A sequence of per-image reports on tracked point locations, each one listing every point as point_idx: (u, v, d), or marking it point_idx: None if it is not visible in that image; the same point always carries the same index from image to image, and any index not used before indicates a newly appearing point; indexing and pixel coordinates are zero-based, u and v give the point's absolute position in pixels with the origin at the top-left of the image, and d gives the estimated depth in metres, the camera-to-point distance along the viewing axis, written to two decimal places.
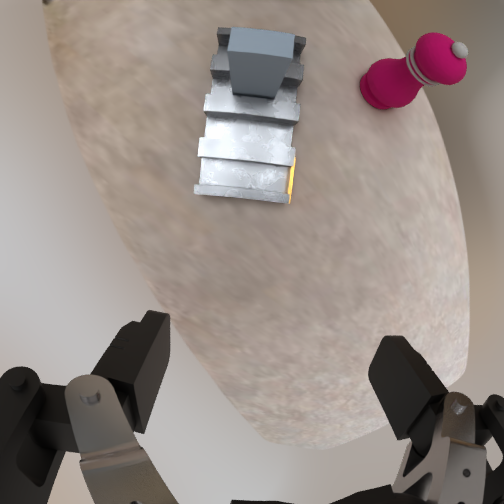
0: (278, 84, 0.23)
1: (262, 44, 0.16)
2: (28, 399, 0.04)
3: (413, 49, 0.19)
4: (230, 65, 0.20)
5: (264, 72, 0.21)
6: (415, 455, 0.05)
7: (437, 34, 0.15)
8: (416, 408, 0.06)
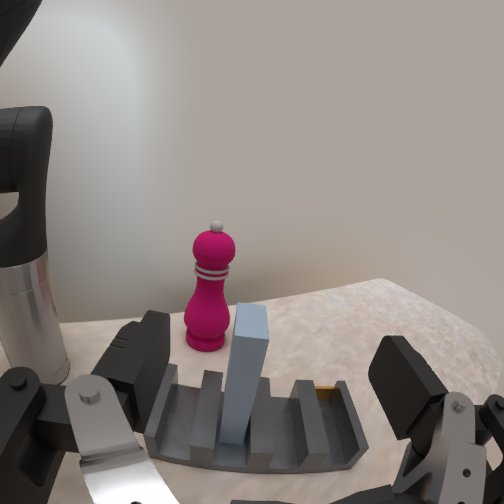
0: None
1: (255, 319, 0.21)
2: (28, 399, 0.04)
3: (202, 269, 0.37)
4: (261, 369, 0.20)
5: None
6: (415, 455, 0.05)
7: (201, 238, 0.36)
8: (416, 408, 0.06)
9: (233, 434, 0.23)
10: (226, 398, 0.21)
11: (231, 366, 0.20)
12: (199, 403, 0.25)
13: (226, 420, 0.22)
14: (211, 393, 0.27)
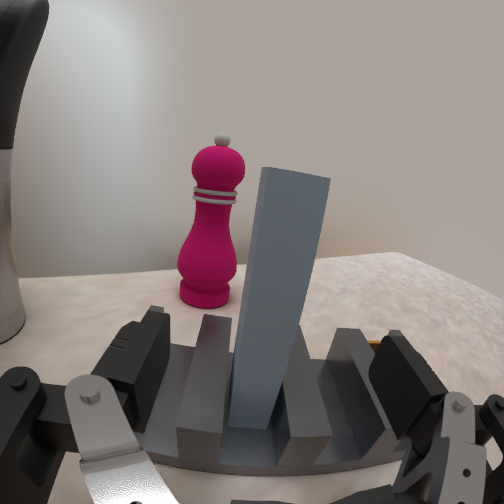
0: None
1: None
2: (28, 399, 0.04)
3: (203, 189, 0.28)
4: None
5: None
6: (415, 455, 0.05)
7: (203, 151, 0.28)
8: (416, 408, 0.06)
9: (253, 409, 0.14)
10: (246, 327, 0.12)
11: (260, 244, 0.11)
12: (195, 357, 0.16)
13: (242, 379, 0.13)
14: (215, 343, 0.18)
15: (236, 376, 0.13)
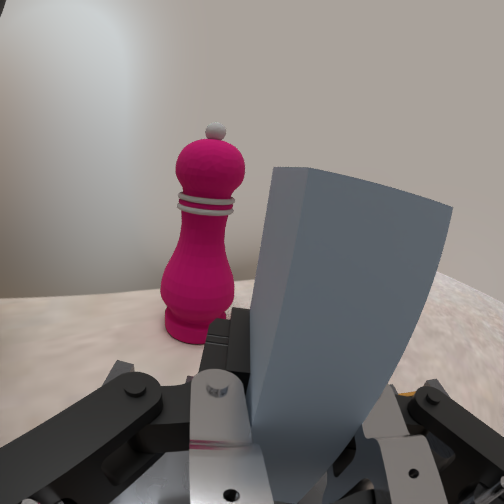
0: None
1: None
2: (153, 405, 0.05)
3: (190, 196, 0.21)
4: None
5: None
6: None
7: (189, 145, 0.21)
8: None
9: None
10: None
11: (275, 366, 0.04)
12: (172, 453, 0.09)
13: None
14: None
15: None
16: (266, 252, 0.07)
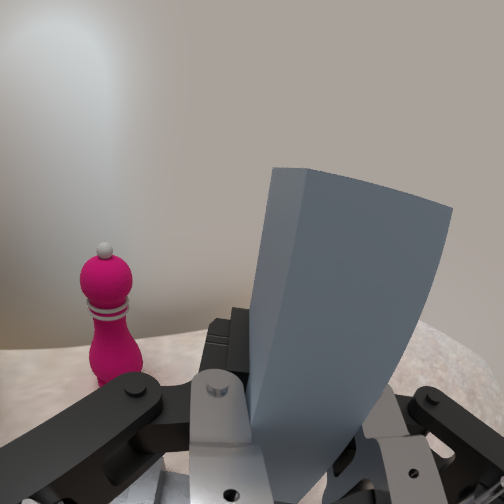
0: None
1: None
2: (154, 405, 0.05)
3: (91, 306, 0.25)
4: (391, 368, 0.04)
5: None
6: None
7: (84, 267, 0.24)
8: None
9: None
10: None
11: (274, 368, 0.04)
12: None
13: None
14: None
15: None
16: (265, 253, 0.07)
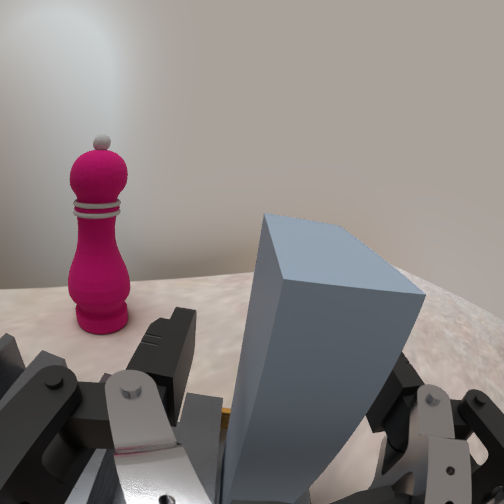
0: None
1: (333, 241, 0.06)
2: (66, 398, 0.04)
3: (77, 202, 0.21)
4: (361, 415, 0.05)
5: None
6: (392, 451, 0.06)
7: (77, 158, 0.20)
8: (390, 400, 0.07)
9: None
10: (235, 486, 0.06)
11: (257, 418, 0.05)
12: (4, 397, 0.09)
13: None
14: None
15: None
16: (254, 304, 0.07)
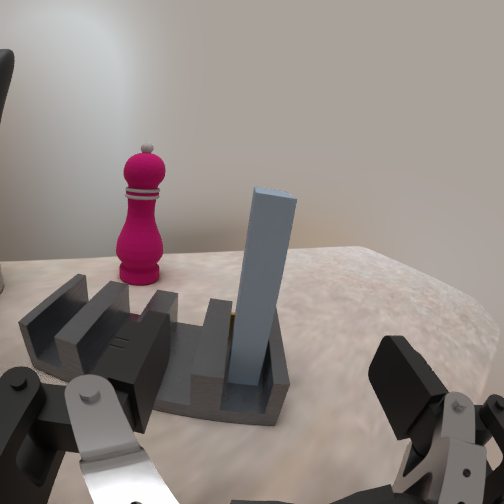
0: None
1: (277, 192, 0.19)
2: (28, 399, 0.04)
3: (130, 188, 0.33)
4: (287, 248, 0.17)
5: None
6: (415, 455, 0.05)
7: (130, 158, 0.33)
8: (416, 408, 0.06)
9: (247, 366, 0.20)
10: (241, 299, 0.18)
11: (250, 242, 0.17)
12: (87, 304, 0.21)
13: (239, 340, 0.19)
14: (105, 298, 0.23)
15: (234, 337, 0.19)
16: (250, 217, 0.20)
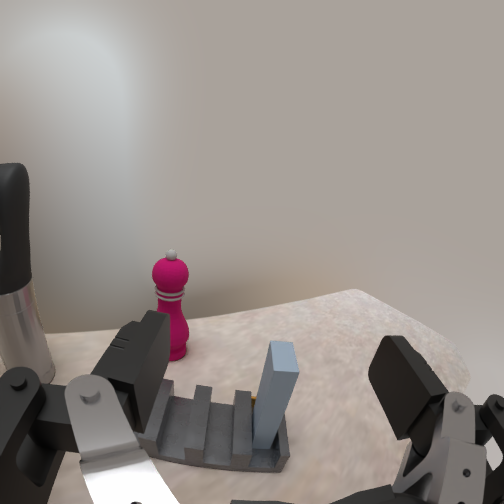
0: None
1: (286, 355, 0.27)
2: (28, 399, 0.04)
3: (160, 291, 0.41)
4: (291, 392, 0.25)
5: None
6: (415, 455, 0.05)
7: (157, 265, 0.41)
8: (416, 408, 0.06)
9: (263, 441, 0.28)
10: (262, 414, 0.26)
11: (269, 391, 0.25)
12: None
13: (259, 430, 0.27)
14: (161, 397, 0.31)
15: (257, 429, 0.27)
16: (267, 366, 0.28)
